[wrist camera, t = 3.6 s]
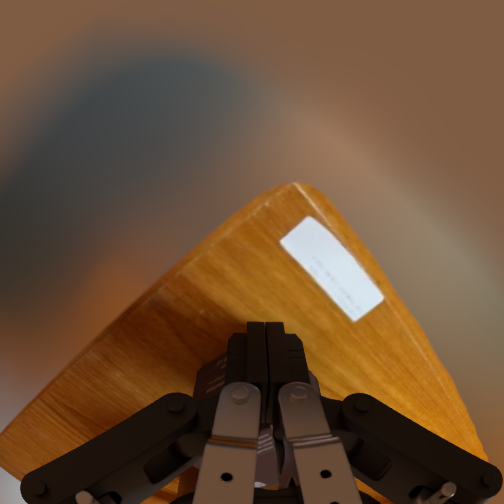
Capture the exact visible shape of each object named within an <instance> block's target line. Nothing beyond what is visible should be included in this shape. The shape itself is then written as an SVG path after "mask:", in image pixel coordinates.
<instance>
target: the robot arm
mask: <svg viewBox="0 0 504 504" xmlns="http://www.w3.org/2000/svg"><path fill="white" fill-rule="evenodd" d="M265 412H266V423H272V425H273V433H272V444H273V451H274V457H275V463H276V469H277V476H278V490H268V489H263V488H258V487H254V486H255V474H256V462H257V450H258V438H259V435H260V428H261V423H264V420H265ZM202 456H203V457H202ZM201 457H202V461H201V466H200V470H199V475H198V480H197V484H196V489H195V491H193V492H190V493H187V494H185V495H183V496H180V497H179V498H177V499H175V500H174V501H172V502H171V503H169V504H381V503H380V502H378V501H377V500H375V499H374V498H373V497H371V496H370V495H368V494H366V493H364V492H362V491H360V490H358V488H357V485H356V482H355V479H354V476H355V477H356V478H357V479H359V480H360V481H362V482H363V483H365V484H366V485H368V486H369V487H371V488H372V489H374V490H375V491H377V492H378V493H380V494H381V495H383V496H384V497H386V498H387V499H389V500H390V501H392V502H394V503H395V504H485V503H486V502H487V501H489V500H490V499H491V498H492V497H493V496H495V495H496V494H497V493H498V492H499V491H500V489H501V487H502V482H503V478H502V474H501V472H500V471H499V469H497V467H495V466H494V465H492V464H490V463H488V462H486V461H484V460H482V459H480V458H478V457H476V456H474V455H472V454H471V453H469V452H467V451H465V450H463V449H461V448H459V447H458V446H456V445H454V444H452V443H450V442H448V441H447V440H445V439H443V438H441V437H439V436H438V435H436V434H434V433H432V432H431V431H429V430H427V429H425V428H424V427H422V426H420V425H419V424H417V423H415V422H413V421H412V420H410V419H408V418H407V417H405V416H403V415H402V414H400V413H398V412H397V411H395V410H393V409H392V408H390V407H388V406H387V405H385V404H383V403H382V402H380V401H379V400H377V399H375V398H374V397H372V396H370V395H368V394H364V393H354V394H351V395H349V396H347V397H346V398H345V399H344V400H343V401H340V400H334V399H329V398H326V397H323V396H321V395H320V394H318V392H317V391H316V389H315V388H314V387H312V385H311V381H310V376H309V371H308V367H307V362H306V359H305V353H304V349H303V344H302V341H301V340H300V339H299V337H298V336H297V335H296V334H285V331H284V325H283V322H265V324H264V322H247V333H234V334H233V335H232V336H231V338H230V339H229V340H228V348H227V359H226V369H225V380H224V386H223V389H222V390H221V391H220V392H219V393H218V394H217V395H215V396H214V397H211V398H209V399H204V400H199V401H195V400H194V399H193V398H192V397H191V396H189V395H187V394H184V393H170V394H166V395H164V396H162V397H161V398H159V399H158V400H156V401H155V402H153V403H151V404H150V405H148V406H147V407H145V408H144V409H142V410H140V411H139V412H137V413H136V414H134V415H132V416H131V417H129V418H127V419H126V420H124V421H122V422H121V423H119V424H117V425H116V426H114V427H112V428H111V429H109V430H107V431H106V432H104V433H102V434H100V435H99V436H97V437H95V438H93V439H92V440H90V441H88V442H86V443H85V444H83V445H81V446H79V447H77V448H76V449H74V450H72V451H70V452H68V453H66V454H65V455H63V456H61V457H59V458H57V459H55V460H53V461H51V462H49V463H47V464H45V465H43V466H41V467H40V468H38V469H36V470H33V471H31V472H30V473H28V474H27V475H25V476H24V478H23V479H22V481H21V485H20V491H21V494H22V497H23V499H24V500H25V502H27V503H28V504H140V503H141V502H143V501H144V500H146V499H147V498H148V497H150V496H151V495H153V494H154V493H156V492H157V491H158V490H160V489H161V488H163V487H164V486H165V485H167V484H168V483H169V482H171V481H172V480H174V479H175V478H176V477H178V476H179V475H180V474H181V473H183V472H184V471H185V470H187V469H188V468H189V467H191V466H192V465H193V464H194V463H196V462H197V461H198V460H199V459H200V458H201Z"/></svg>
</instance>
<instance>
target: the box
mask: <svg viewBox="0 0 504 504" xmlns="http://www.w3.org/2000/svg"><path fill="white" fill-rule="evenodd" d="M226 359H227V353H225V354H224V355H222V356H220V357H219V358H217V359H216V360H214V361H212V362H211V363H209V364H208V365H206V366H204V367H202V368H201V369H199V370H198V372H197V376H196V382H195V387H194V392H193V399H194V400H195V401H199V400H204V399H209V398H211V397H214V396H215V395H217V394H218V393H219V392H220V391H221V390H222V389H223V386H224V380H225V369H226ZM308 371H309V370H308ZM309 376H310V381H311V385H312V387H314V388H315V389H316V391H317V392H318V394H320V395H321V393H320V388H319V384H318V380H317V378H316V377H315V376H314V375H313V374H312V373H311V372H310V371H309ZM272 433H273V425H272V423H266V412H265V420H264V423H261V428H260V435H259V438H258V450H257V462H256V474H255V486H254V487H258V488H265V487H269V486H273V485H278V476H277V469H276V463H275V457H274V451H273V444H272ZM202 457H203V456H202ZM202 457H201V458H200V459H199V460H198V461H197V462H196V463H194V464H193V465H192V466H194V467H196V468H198V469H200V466H201V461H202Z"/></svg>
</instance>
